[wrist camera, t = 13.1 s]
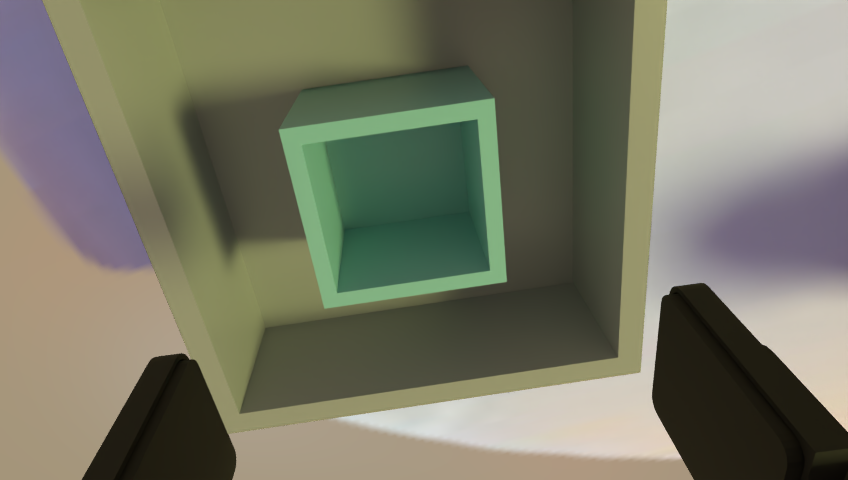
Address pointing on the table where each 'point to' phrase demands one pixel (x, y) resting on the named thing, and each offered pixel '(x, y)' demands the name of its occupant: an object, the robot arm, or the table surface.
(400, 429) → the table surface
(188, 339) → the big crate
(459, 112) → the box
